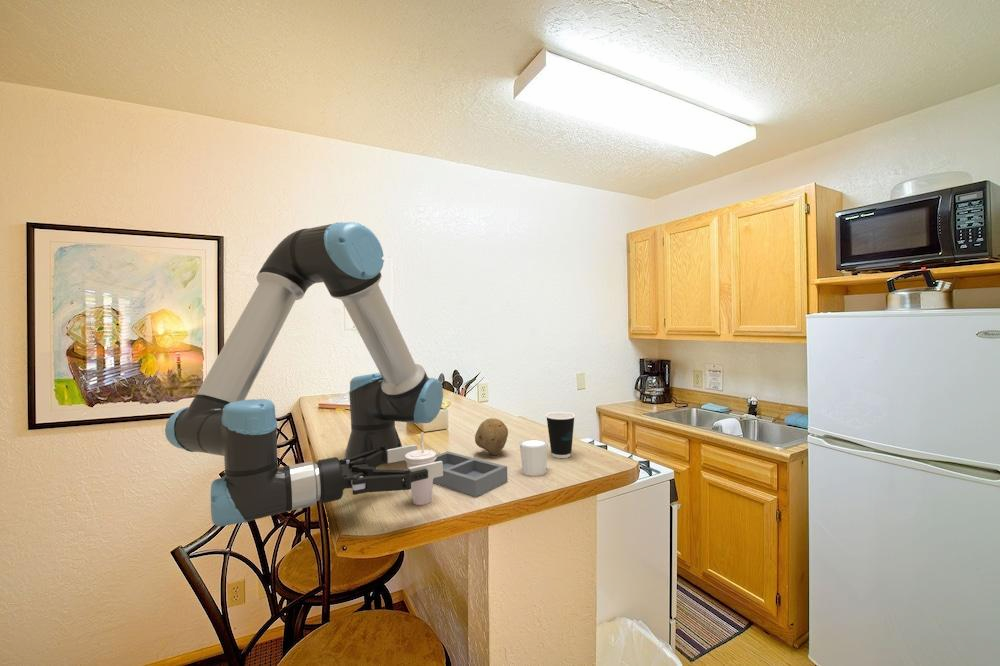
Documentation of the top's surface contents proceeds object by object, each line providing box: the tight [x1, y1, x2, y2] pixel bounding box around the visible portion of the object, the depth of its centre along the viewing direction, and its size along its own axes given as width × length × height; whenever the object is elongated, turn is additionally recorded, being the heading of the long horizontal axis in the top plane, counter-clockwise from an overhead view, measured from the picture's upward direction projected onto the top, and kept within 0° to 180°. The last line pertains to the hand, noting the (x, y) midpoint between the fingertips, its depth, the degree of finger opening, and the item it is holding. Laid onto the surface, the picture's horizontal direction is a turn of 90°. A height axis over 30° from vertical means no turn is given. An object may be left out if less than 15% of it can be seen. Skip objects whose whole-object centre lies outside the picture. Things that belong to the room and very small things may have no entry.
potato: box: [474, 417, 509, 456], centre depth 113 cm, size 9×9×10 cm
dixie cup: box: [545, 411, 576, 459], centre depth 110 cm, size 8×8×11 cm
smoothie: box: [404, 431, 437, 506], centre depth 84 cm, size 6×6×14 cm
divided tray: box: [433, 451, 508, 498], centre depth 95 cm, size 20×10×4 cm, turn 50°
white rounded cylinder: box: [519, 439, 549, 477], centre depth 99 cm, size 7×7×7 cm
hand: (428, 458), depth 85 cm, fingers open, 13 cm apart
